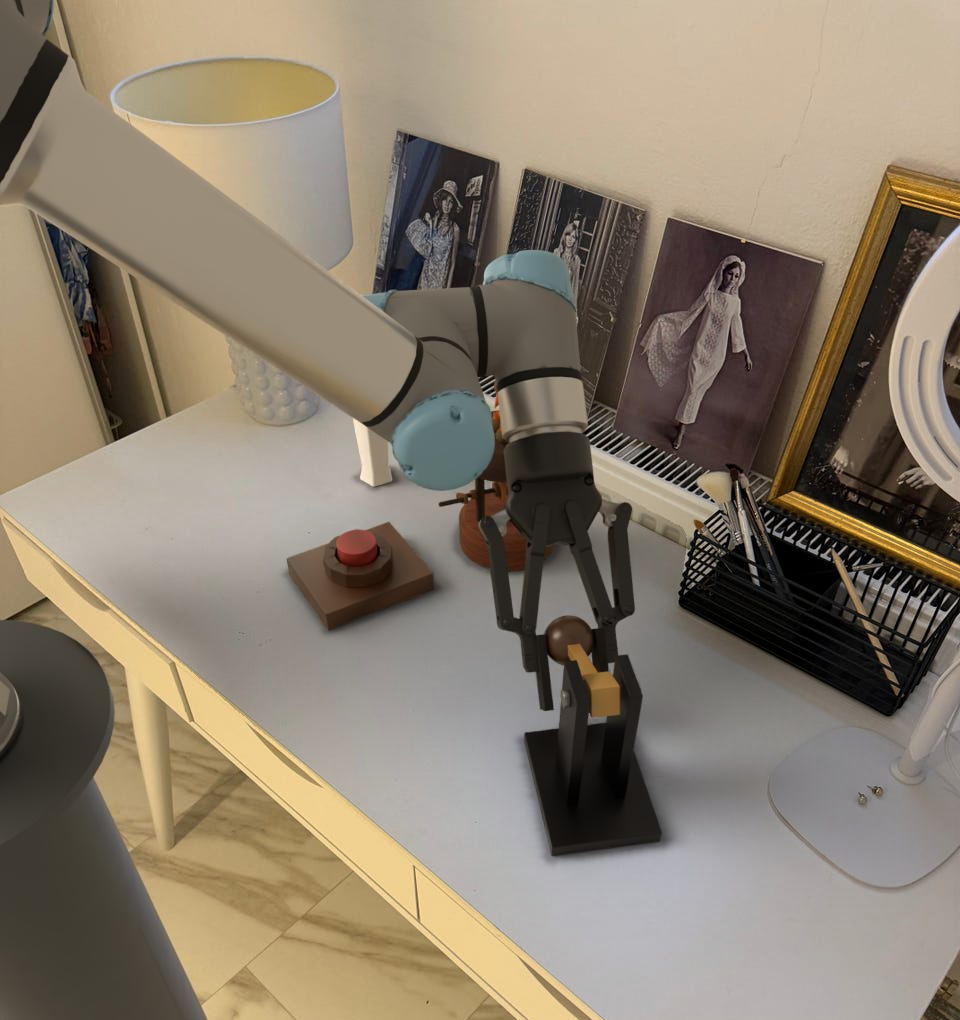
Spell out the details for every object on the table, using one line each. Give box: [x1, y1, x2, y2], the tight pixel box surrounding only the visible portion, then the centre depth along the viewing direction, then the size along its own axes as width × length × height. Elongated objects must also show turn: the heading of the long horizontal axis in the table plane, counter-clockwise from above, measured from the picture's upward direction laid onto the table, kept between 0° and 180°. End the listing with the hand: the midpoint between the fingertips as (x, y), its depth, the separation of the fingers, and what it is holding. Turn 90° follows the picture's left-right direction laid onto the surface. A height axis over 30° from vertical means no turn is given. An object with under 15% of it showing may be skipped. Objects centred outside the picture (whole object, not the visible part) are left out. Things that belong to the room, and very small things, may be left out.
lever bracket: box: [523, 654, 663, 857], centre depth 77 cm, size 12×9×14 cm
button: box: [336, 529, 377, 567], centre depth 98 cm, size 4×4×2 cm
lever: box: [543, 614, 620, 719], centre depth 79 cm, size 15×4×4 cm, turn 9°
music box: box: [438, 380, 556, 572], centre depth 98 cm, size 15×11×20 cm
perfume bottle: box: [352, 418, 393, 487], centre depth 109 cm, size 5×4×15 cm
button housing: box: [285, 521, 435, 631], centre depth 99 cm, size 12×10×4 cm
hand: (575, 705), depth 84 cm, fingers closed on lever, 4 cm apart
